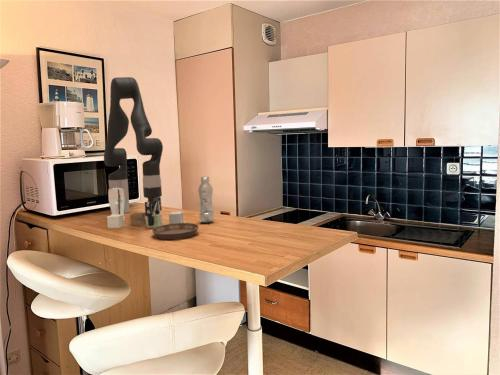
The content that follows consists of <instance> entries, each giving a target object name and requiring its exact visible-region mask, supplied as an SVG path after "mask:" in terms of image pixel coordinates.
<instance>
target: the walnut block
mask: <svg viewBox="0 0 500 375" xmlns="http://www.w3.org/2000/svg"><path fill="white" fill-rule="evenodd" d="M129 216H130V217H129V218H130V220H129V221H130V226H131V227H139V226H140V227H143V226H144V225H145V224H146V225H147V220H146V216H145V211H144V212H133V213H131V214H129Z"/></svg>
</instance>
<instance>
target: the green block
mask: <svg viewBox="0 0 500 375" xmlns="http://www.w3.org/2000/svg"><path fill="white" fill-rule="evenodd" d="M153 217H154V225H153V226H149V225H148V217H147V216H146V229H149V228H152V229H154V228H156V227H159V226H162V225H163V219H162V218H163V215H162V213H160V214H154V216H153Z"/></svg>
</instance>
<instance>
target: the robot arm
mask: <svg viewBox="0 0 500 375" xmlns="http://www.w3.org/2000/svg"><path fill="white" fill-rule="evenodd" d="M109 94H110V97H109V99H110V101H109V102H110V103H109V104H110V106H109V116H108V121H107V131H106V132H107V133H106V134H107V135H106V142H105V146H104V153H103V162H104V164H105V166H106V167H119V168H118V169H117V170H115V171H113V172H112V173H109V174H108V189H111V188H123V190H124V198H125V201H124V214H126V213H130V212H131V211H130V199H129V198H130V197H129V195H130V194H129V182H128V165H127V164H128V159H127V158H128V155H127V151H126V149H125V148H123V147H116V146H117V145H118V144H119V143H120V142H121V141H122V140H123V139H124V138H125V137H126V136H127V133H128V132H129V126H130V124H131V126H132V129H133V131H134V134H135V143H136V150H137V153H139V155H141V156H151V157H150V158H149V159H148V160H146V161H144V162H142V189H143V192H142V193H143V198H145V199H147V201H145V202H144V212H145V216H147V217H148V225H149V226H153V225H154V217H153V216H154V214H161V211H162V198H161V197H162V196H163V194H162V179H161V168H160V167H161V166H160V164H161V159H162V154H163V149H164V148H163V147H164V146H163V142H162V140H161V139H159V138H157V137H149V136H151V135H152V133H153V129H152V126H151V124H150V122H149V119H148V118H147V117H148V116H147V115H146V112H145V107H144V102H143V98H142V94H141V91H140V87H139V84H138V81H137V80H136V79H135V77H130V76H128V77H127V76H126V77H121V76H120V77H114V78H112V79H111V82H110V93H109ZM126 99H127V100H128V99H132V100H133V107H132V110H131V113H130V118H129V117H128V116H127V113H126V112H125V111H124V110H123V107H121V100H126ZM129 119H130V120H129ZM148 137H149V138H148ZM115 147H116V148H115ZM110 212H111V211H110ZM111 214H112V212H111Z"/></svg>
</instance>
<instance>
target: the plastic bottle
mask: <svg viewBox="0 0 500 375" xmlns="http://www.w3.org/2000/svg"><path fill="white" fill-rule="evenodd" d="M213 190H214V189H213V186H212V185H211V183H210V176H200V184H199V186H198V189H197V193H198V198H199V218H198V219H199V221H200V222H201V223H205V224H208V223H212V222H214V218H215V214H214V208H213Z"/></svg>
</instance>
